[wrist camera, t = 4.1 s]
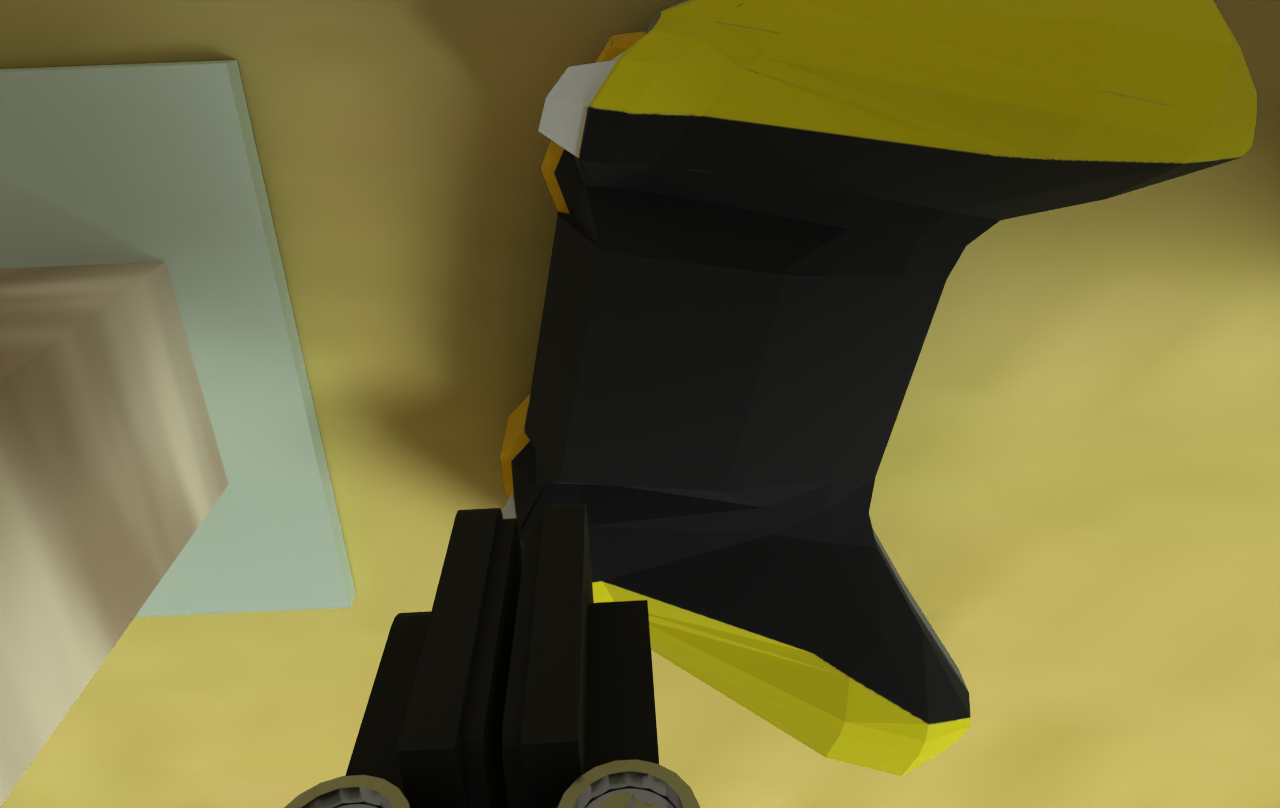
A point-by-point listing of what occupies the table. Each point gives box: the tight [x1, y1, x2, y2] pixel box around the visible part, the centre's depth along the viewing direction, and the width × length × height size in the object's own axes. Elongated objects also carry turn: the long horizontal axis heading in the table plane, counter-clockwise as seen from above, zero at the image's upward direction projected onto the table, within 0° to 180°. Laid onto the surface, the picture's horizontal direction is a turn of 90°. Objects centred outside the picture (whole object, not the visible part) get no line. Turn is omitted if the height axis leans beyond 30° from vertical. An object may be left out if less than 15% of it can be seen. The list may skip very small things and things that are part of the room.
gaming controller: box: [500, 0, 1257, 776], centre depth 17 cm, size 15×6×10 cm
